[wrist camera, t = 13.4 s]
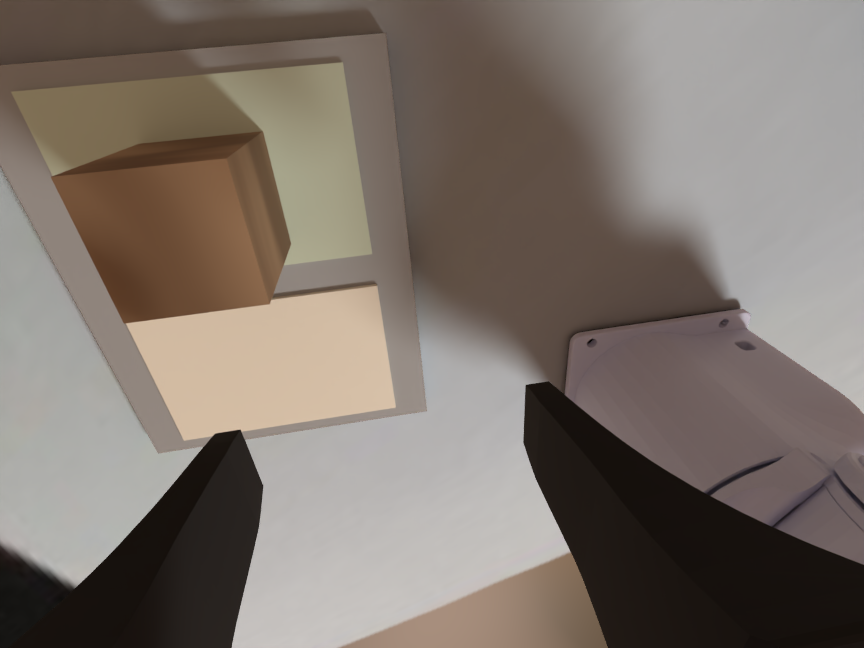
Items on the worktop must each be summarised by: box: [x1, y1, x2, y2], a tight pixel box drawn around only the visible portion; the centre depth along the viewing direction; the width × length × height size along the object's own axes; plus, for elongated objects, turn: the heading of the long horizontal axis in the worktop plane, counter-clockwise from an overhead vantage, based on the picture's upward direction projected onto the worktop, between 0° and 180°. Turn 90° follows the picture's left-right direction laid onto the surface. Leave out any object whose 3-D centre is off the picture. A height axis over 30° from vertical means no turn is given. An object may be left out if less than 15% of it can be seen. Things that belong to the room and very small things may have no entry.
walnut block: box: [51, 131, 291, 324], centre depth 14 cm, size 4×4×5 cm
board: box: [0, 33, 427, 453], centre depth 18 cm, size 13×16×1 cm
